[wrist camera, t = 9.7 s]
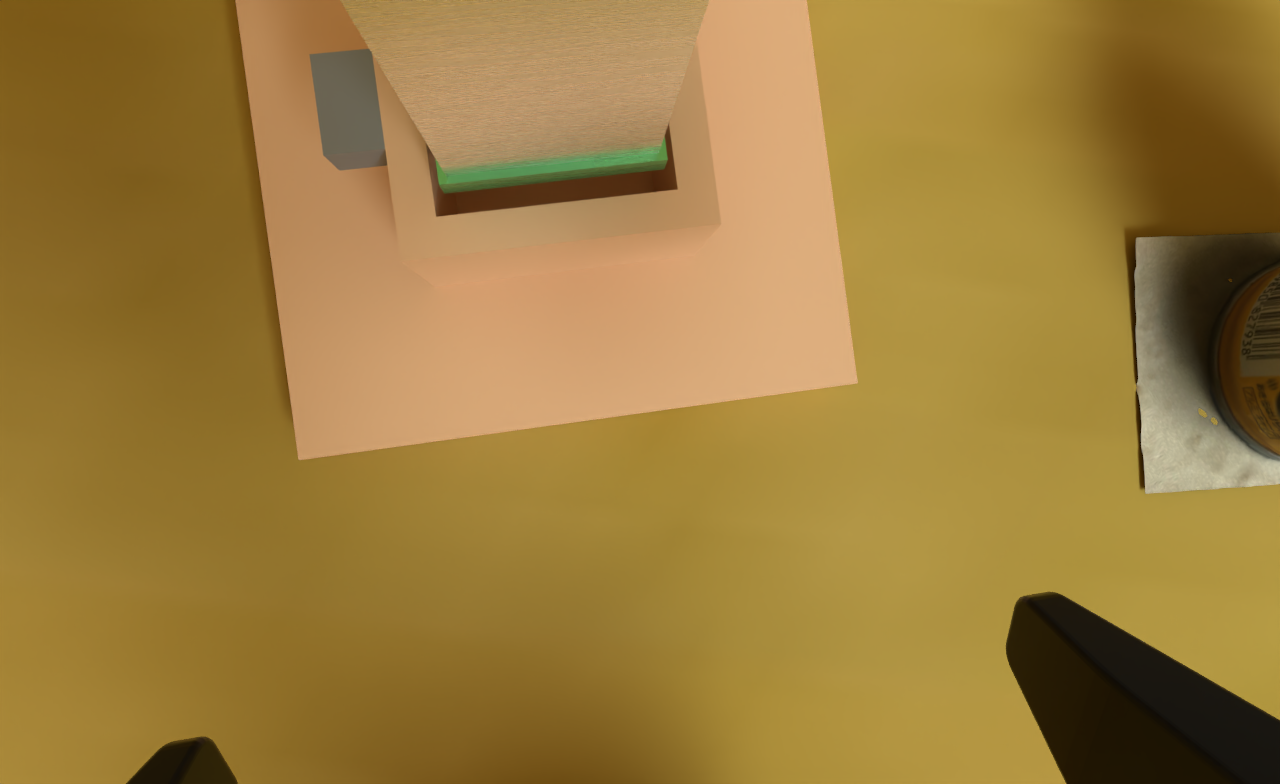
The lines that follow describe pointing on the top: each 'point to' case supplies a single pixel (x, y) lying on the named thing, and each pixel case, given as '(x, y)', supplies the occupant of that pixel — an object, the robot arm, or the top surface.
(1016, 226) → the top surface
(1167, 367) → the condiment
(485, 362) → the stand
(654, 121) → the column
